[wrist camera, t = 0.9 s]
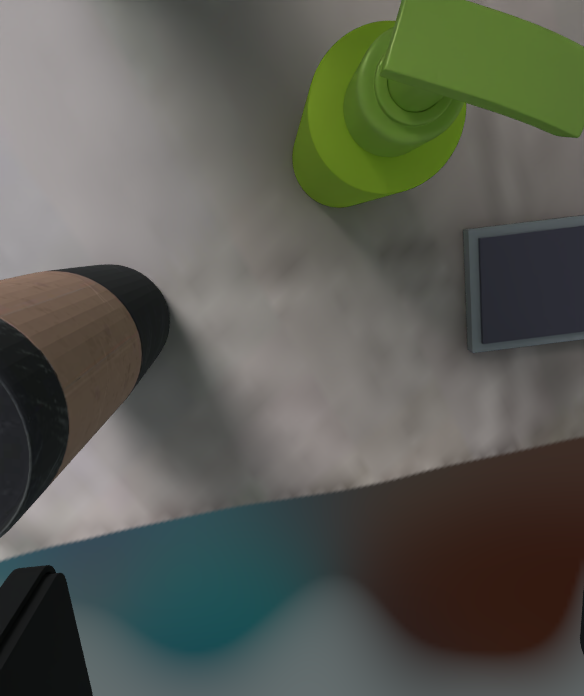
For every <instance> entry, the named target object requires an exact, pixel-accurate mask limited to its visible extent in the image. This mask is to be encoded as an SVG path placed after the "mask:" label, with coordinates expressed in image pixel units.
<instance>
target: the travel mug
mask: <svg viewBox="0 0 584 696" xmlns="http://www.w3.org/2000/svg"><path fill="white" fill-rule="evenodd" d="M169 324H170V320H169V312H168V307H167V305H166V302H165V300H164V298H163V296H162V294H161V292H160V291H159V289H158V288H157V287H156V286H155V285H154V283H153V282H152V281H150V280H149V279H148V278H147V277H146V276H144V275H143V274H141V273H140V272H138V271H136V270H134V269H131V268H128V267H125V266H120V265H94V266H85V267H77V268H68V269H60V270H51V271H44V272H38V273H32V274H27V275H23V276H18V277H13V278H9V279H4V280H0V537H2V536H3V535H4V534H5V533H6V532H8V531H9V530H10V529H11V528H12V526H13V525H14V524H15V523H16V522H17V521H18V520H19V519H20V518H21V517H22V516H23V514H24V513H25V512H26V511H27V510H28V509H29V508H30V507H31V505H32V504H33V503H34V502H35V501H36V500H37V499H38V498H39V496H40V495H41V494H42V493H43V492H44V491H45V490H46V489H47V487H48V486H49V485H50V484H51V483H52V482H53V481H54V479H55V478H56V477H57V476H58V475H59V474H60V473H61V472H62V470H63V469H64V468H65V467H66V466H67V465H68V464H69V463H70V461H71V460H72V459H73V458H74V457H75V456H76V455H77V454H78V452H79V451H80V450H81V449H82V448H83V447H84V446H85V445H86V443H87V442H88V441H89V440H90V439H91V438H92V437H93V436H94V434H95V433H96V432H97V431H98V430H99V429H100V428H101V427H102V425H103V424H104V423H105V422H106V421H107V420H108V419H109V418H110V416H111V415H112V414H113V413H114V412H115V411H116V410H117V409H118V407H119V406H120V405H121V404H122V403H123V402H124V401H125V400H126V398H127V397H128V396H129V395H130V393H131V392H132V390H133V389H134V388H135V386H136V385H137V384H138V382H139V381H140V379H141V378H142V377H143V375H144V374H145V373H146V371H147V370H148V368H149V367H150V366H151V364H152V363H153V362H154V360H155V359H156V357H157V356H158V354H159V353H160V351H161V350H162V348H163V346H164V344H165V342H166V339H167V337H168V332H169Z"/></svg>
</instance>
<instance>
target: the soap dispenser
mask: <svg viewBox="0 0 584 696" xmlns="http://www.w3.org/2000/svg"><path fill="white" fill-rule="evenodd" d="M466 103H468V104H471V105H474V106H477V107H481V108H484V109H487V110H490V111H493V112H496V113H499V114H502V115H505V116H508V117H510V118H513V119H516V120H519V121H521V122H524V123H527V124H529V125H532V126H534V127H537V128H539V129H541V130H544V131H546V132H548V133H551V134H553V135H556V136H561V137H572V138H578V137H580V135H581V133H582V130H583V128H584V47H583V46H581V45H579V44H578V43H576V42H574V41H572V40H570V39H568V38H566V37H564V36H561V35H559V34H557V33H555V32H553V31H550V30H548V29H546V28H543V27H541V26H539V25H536V24H534V23H531V22H528V21H526V20H523V19H520V18H518V17H515V16H512V15H509V14H506V13H503V12H500V11H497V10H494V9H491V8H488V7H485V6H482V5H479V4H475V3H472V2H469V1H466V0H402V1H401V5H400V8H399V11H398V15H397V18H396V21H379V22H374V23H370V24H366V25H364V26H361V27H359V28H356V29H354V30H353V31H351V32H349V33H348V34H346V35H345V36H343V37H342V38H341V39H340V40H338V41H337V42H336V43H335V44H334V45H333V46H332V47H331V48H330V50H329V51H328V52H327V53H326V55H325V56H324V57H323V59H322V60H321V62H320V64H319V66H318V67H317V69H316V72H315V74H314V76H313V79H312V82H311V85H310V89H309V93H308V96H307V100H306V103H305V107H304V110H303V114H302V118H301V121H300V125H299V128H298V132H297V136H296V139H295V143H294V147H293V154H292V161H293V169H294V173H295V176H296V178H297V181H298V182H299V184H300V186H301V187H302V189H303V190H304V191H305V192H306V194H307V195H309V196H310V197H311V198H312V199H314V200H315V201H317V202H319V203H321V204H323V205H326V206H330V207H337V208H341V207H349V206H353V205H356V204H360V203H364V202H367V201H371V200H374V199H378V198H382V197H385V196H389V195H392V194H396V193H400V192H403V191H406V190H409V189H412V188H414V187H416V186H418V185H420V184H422V183H424V182H425V181H427V180H428V179H430V178H431V177H432V176H434V175H435V174H436V173H437V172H438V171H439V170H440V169H441V168H442V167H443V166H444V165H445V163H446V162H447V161H448V159H449V158H450V157H451V155H452V153H453V152H454V150H455V148H456V146H457V144H458V142H459V139H460V137H461V134H462V130H463V127H464V122H465V116H466Z"/></svg>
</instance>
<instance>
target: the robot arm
mask: <svg viewBox="0 0 584 696" xmlns="http://www.w3.org/2000/svg"><path fill="white" fill-rule="evenodd" d="M580 643H581V648H582V651H583V654H584V592H583V607H582V621H581V634H580ZM0 696H93V695H92V689H91V685H90V681H89V676H88V672H87V668H86V664H85V659H84V655H83V651H82V646H81V642H80V638H79V633H78V629H77V625H76V621H75V616H74V612H73V608H72V604H71V599H70V595H69V591H68V586H67V582H66V579H65V576H64V575H63V574H62V573H56V572H55V569H54V568H53V567H52V566H50V565H46V566H37V567H27V568H18V569H15V570H14V571H13V572H12V573H11V574H10V575H9V576H8V578H7V579H6V581H5V582H4V583H3V585H2V586H1V587H0Z"/></svg>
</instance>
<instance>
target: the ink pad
mask: <svg viewBox="0 0 584 696" xmlns="http://www.w3.org/2000/svg"><path fill="white" fill-rule="evenodd" d="M463 240H464V267H465V294H466V320H467V347H468V350H469V351H470V352H472V353H477V352H485V351H493V350H501V349H509V348H517V347H525V346H533V345H541V344H549V343H557V342H566V341H574V340H582V339H584V215H580V216H572V217H563V218H555V219H547V220H539V221H530V222H522V223H514V224H506V225H498V226H489V227H481V228H473V229H465V230H463Z"/></svg>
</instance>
